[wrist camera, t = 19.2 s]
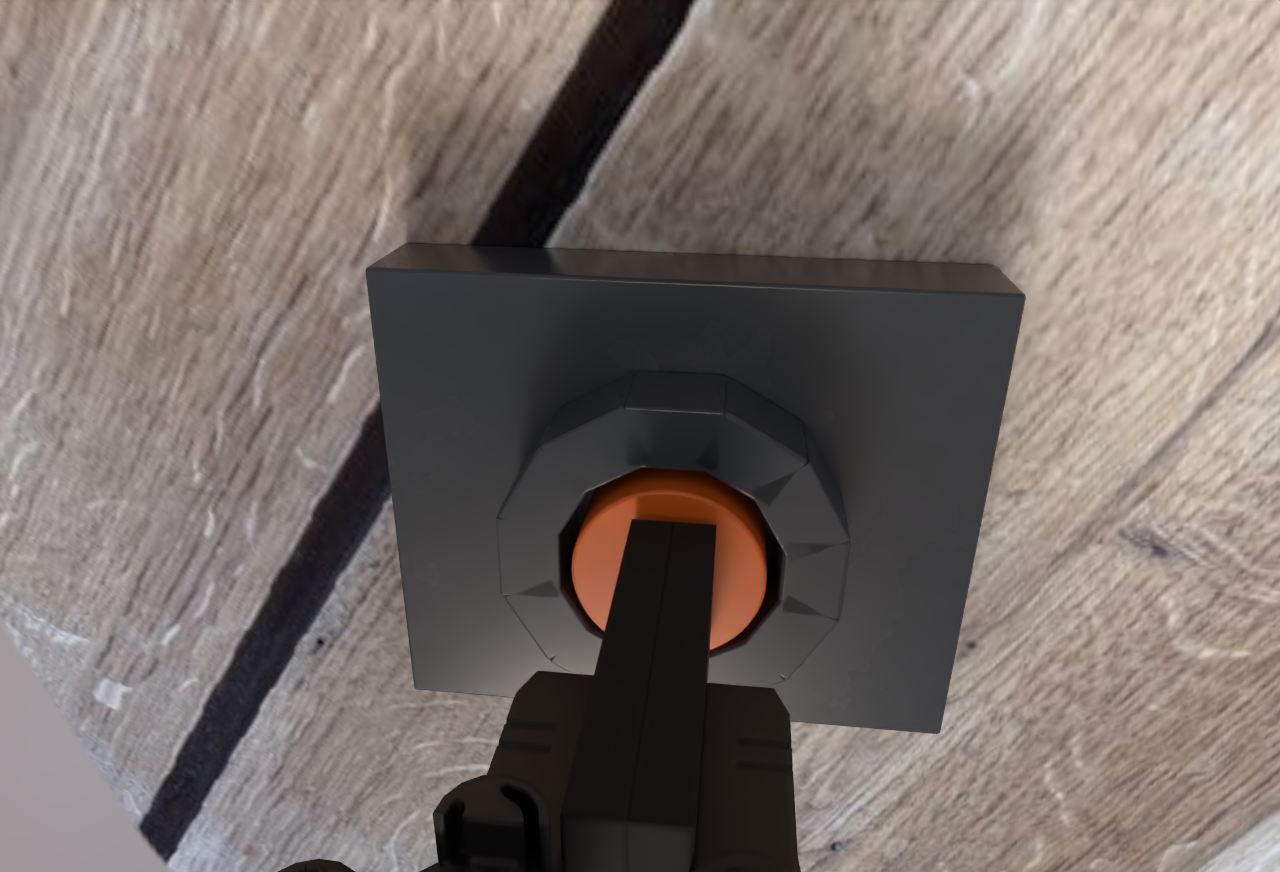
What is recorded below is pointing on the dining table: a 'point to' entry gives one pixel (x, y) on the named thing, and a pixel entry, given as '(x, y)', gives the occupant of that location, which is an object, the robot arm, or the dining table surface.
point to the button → (675, 501)
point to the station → (694, 453)
